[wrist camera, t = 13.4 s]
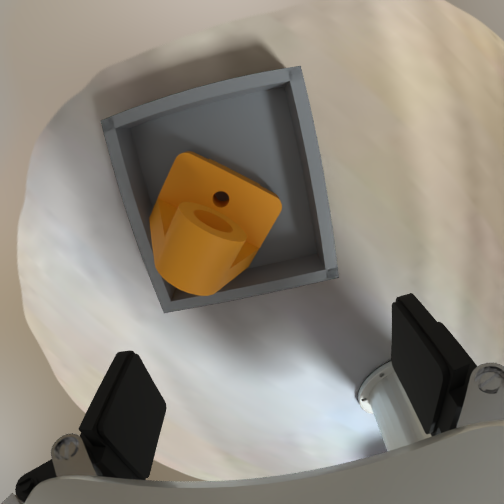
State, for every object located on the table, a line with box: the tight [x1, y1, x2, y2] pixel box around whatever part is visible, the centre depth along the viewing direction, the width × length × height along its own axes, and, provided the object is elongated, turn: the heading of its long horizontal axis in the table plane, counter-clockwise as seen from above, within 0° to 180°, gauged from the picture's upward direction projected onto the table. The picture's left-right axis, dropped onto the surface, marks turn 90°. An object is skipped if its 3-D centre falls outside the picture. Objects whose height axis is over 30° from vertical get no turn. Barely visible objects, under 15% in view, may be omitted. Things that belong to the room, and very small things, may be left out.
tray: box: [101, 66, 339, 313], centre depth 29 cm, size 18×20×5 cm
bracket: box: [149, 151, 282, 296], centre depth 26 cm, size 11×7×12 cm, turn 62°
